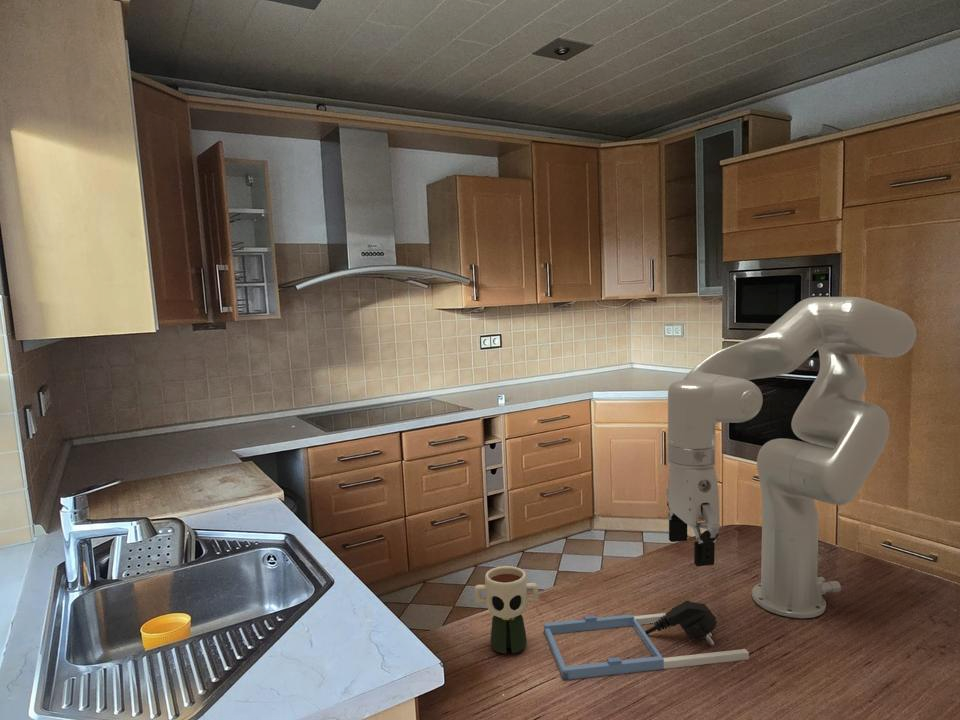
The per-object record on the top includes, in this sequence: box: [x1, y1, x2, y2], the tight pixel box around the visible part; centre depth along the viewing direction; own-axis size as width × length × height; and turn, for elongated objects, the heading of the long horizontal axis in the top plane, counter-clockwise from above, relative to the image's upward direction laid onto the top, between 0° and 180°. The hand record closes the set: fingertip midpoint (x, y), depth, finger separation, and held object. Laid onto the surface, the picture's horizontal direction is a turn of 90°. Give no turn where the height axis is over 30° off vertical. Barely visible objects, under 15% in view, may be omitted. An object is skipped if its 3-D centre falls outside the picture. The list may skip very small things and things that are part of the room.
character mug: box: [474, 565, 539, 654], centre depth 106 cm, size 11×7×13 cm, turn 88°
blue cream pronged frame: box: [543, 612, 750, 681], centre depth 106 cm, size 31×14×2 cm, turn 97°
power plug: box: [644, 600, 718, 647], centre depth 107 cm, size 6×8×12 cm
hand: (690, 552), depth 105 cm, fingers open, 9 cm apart
